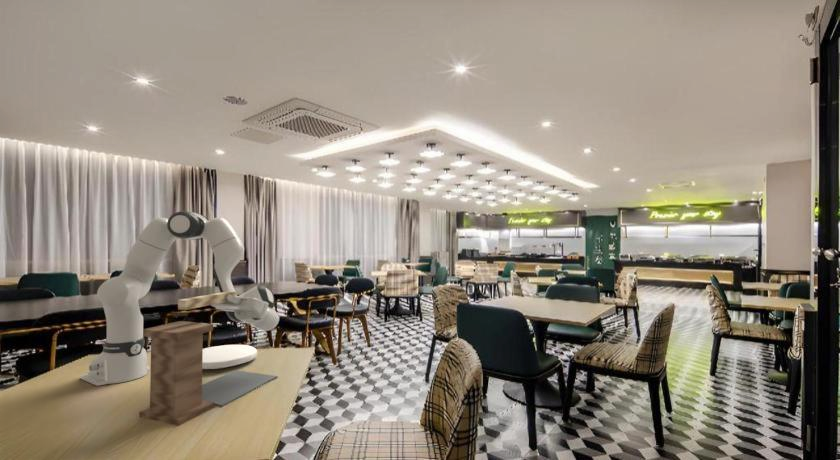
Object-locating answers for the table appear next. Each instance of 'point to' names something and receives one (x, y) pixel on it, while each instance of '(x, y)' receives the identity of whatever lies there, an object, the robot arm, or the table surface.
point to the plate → (227, 356)
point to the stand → (176, 372)
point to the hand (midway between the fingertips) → (221, 296)
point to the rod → (204, 300)
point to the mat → (233, 386)
